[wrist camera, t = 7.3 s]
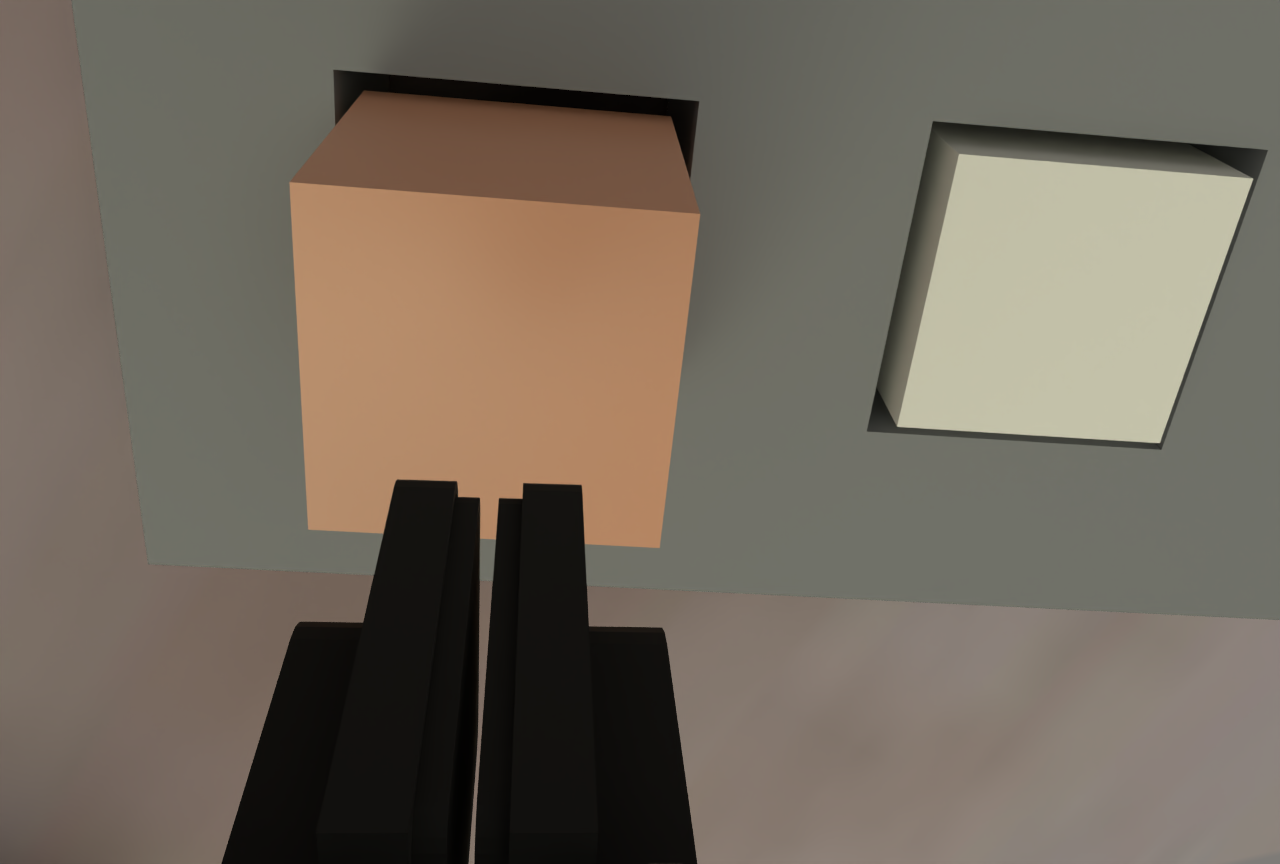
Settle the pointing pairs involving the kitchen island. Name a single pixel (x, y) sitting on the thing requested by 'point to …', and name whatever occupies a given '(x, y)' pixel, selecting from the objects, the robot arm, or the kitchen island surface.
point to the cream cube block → (1055, 282)
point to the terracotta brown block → (492, 308)
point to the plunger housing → (715, 282)
